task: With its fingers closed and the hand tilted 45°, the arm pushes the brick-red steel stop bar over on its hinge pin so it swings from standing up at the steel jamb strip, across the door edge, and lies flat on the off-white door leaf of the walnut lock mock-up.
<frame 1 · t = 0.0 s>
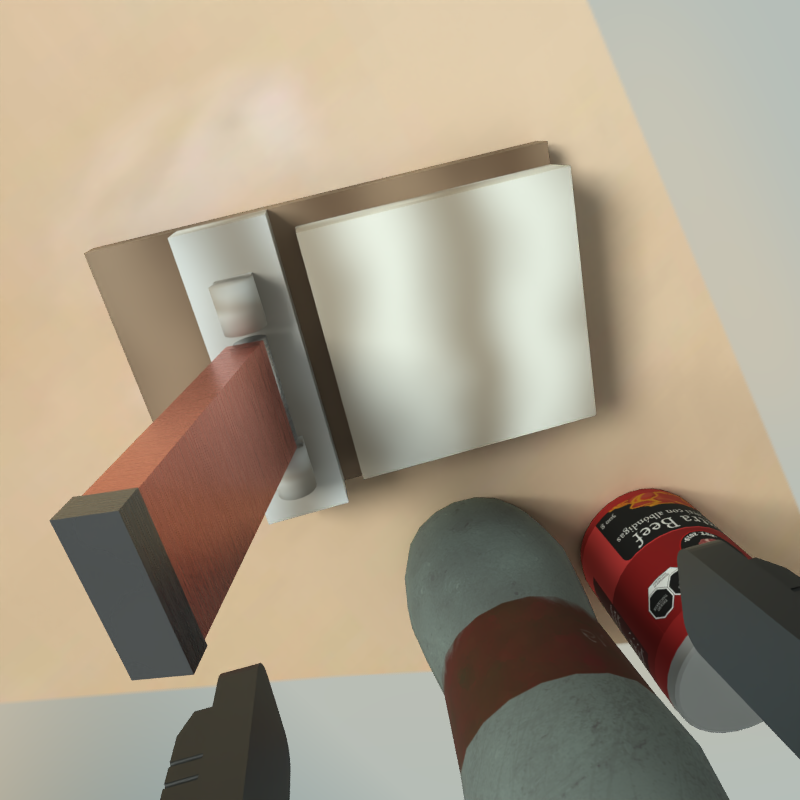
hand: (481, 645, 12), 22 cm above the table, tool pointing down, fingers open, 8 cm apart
bottle: (472, 552, 39), on the table
canned food: (632, 538, 41), on the table
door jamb: (268, 357, 32), on the table
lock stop: (218, 464, 22), point 11 cm above the table, hinge at -15.0°
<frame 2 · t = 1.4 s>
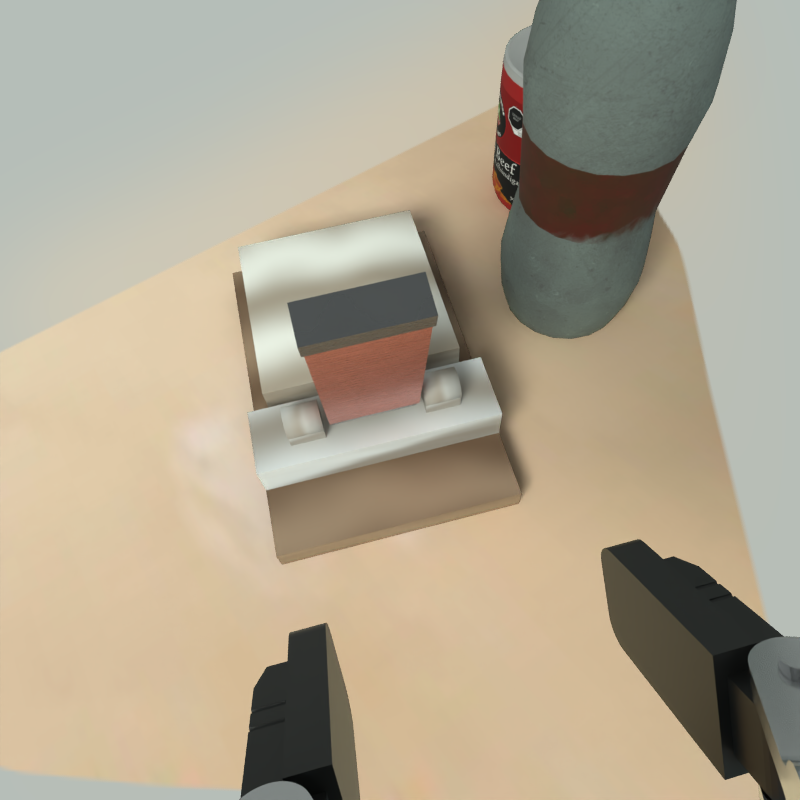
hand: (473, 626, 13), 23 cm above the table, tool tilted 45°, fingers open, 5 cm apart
bottle: (560, 294, 46), on the table
canned food: (542, 190, 51), on the table
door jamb: (378, 442, 40), on the table
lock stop: (368, 368, 30), point 11 cm above the table, hinge at -15.0°
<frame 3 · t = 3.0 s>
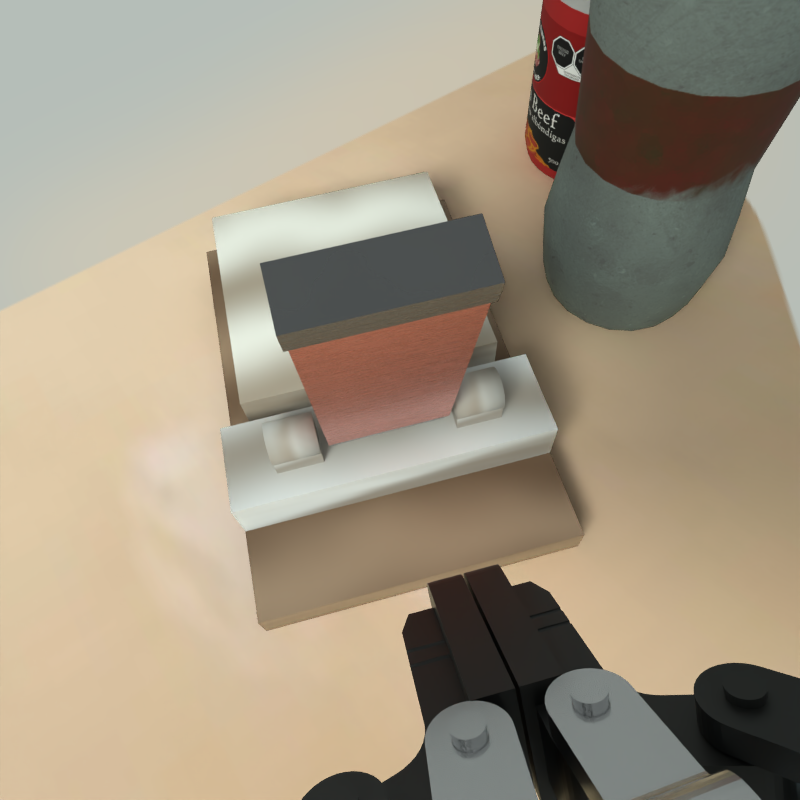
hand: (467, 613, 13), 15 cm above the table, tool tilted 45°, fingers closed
bottle: (615, 275, 37), on the table
canned food: (584, 152, 42), on the table
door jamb: (391, 465, 31), on the table
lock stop: (384, 368, 21), point 11 cm above the table, hinge at -15.0°
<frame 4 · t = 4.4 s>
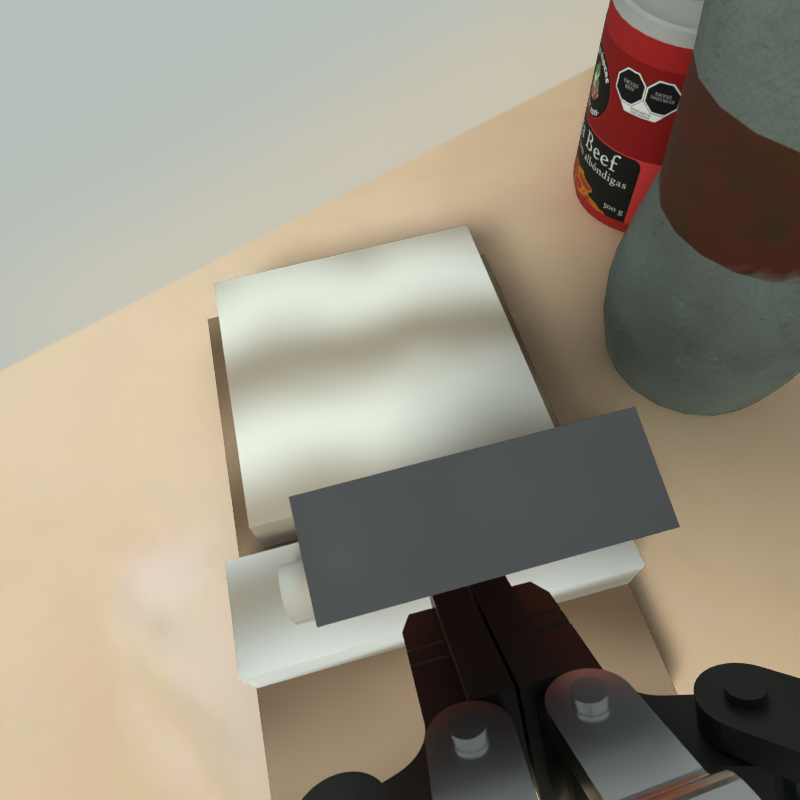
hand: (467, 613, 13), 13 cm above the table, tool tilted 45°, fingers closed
bottle: (687, 345, 31), on the table
canned food: (641, 193, 36), on the table
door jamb: (432, 590, 26), on the table
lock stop: (445, 541, 16), point 11 cm above the table, hinge at -14.9°, touching gripper
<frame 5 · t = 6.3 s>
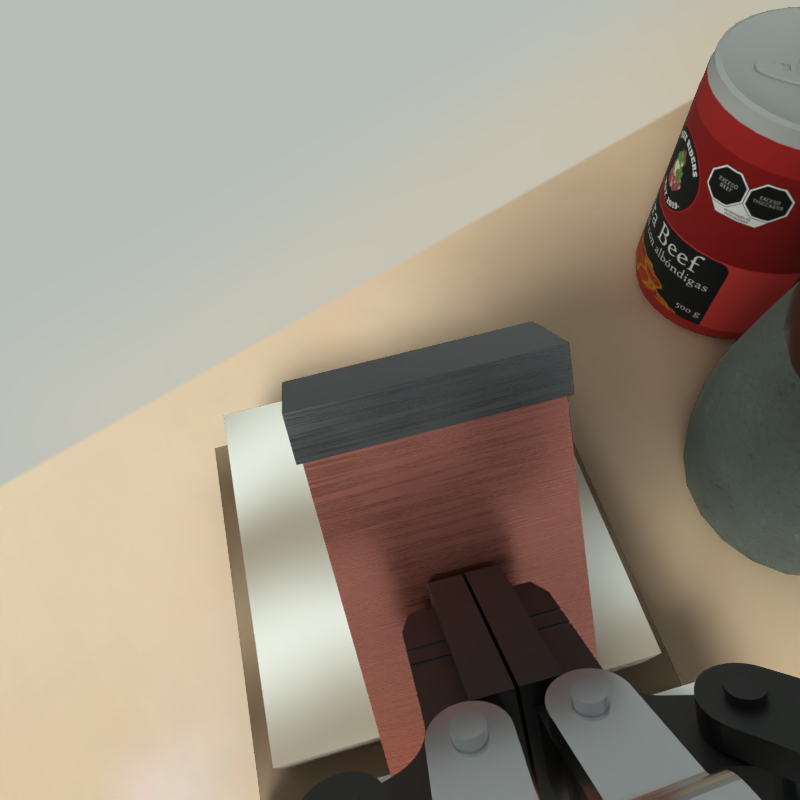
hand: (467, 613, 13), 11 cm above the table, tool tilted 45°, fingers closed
bottle: (781, 480, 26), on the table
canned food: (713, 282, 32), on the table
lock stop: (474, 645, 14), point 10 cm above the table, hinge at 39.9°, touching gripper
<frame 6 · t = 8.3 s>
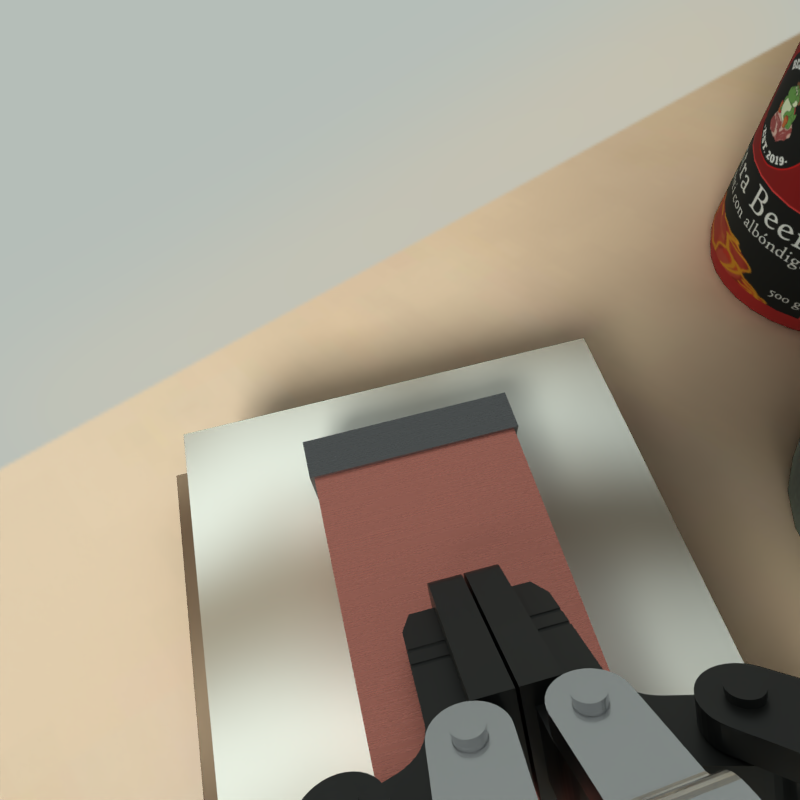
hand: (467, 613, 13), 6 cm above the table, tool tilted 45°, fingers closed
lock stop: (488, 711, 13), point 5 cm above the table, hinge at 90.8°, touching gripper
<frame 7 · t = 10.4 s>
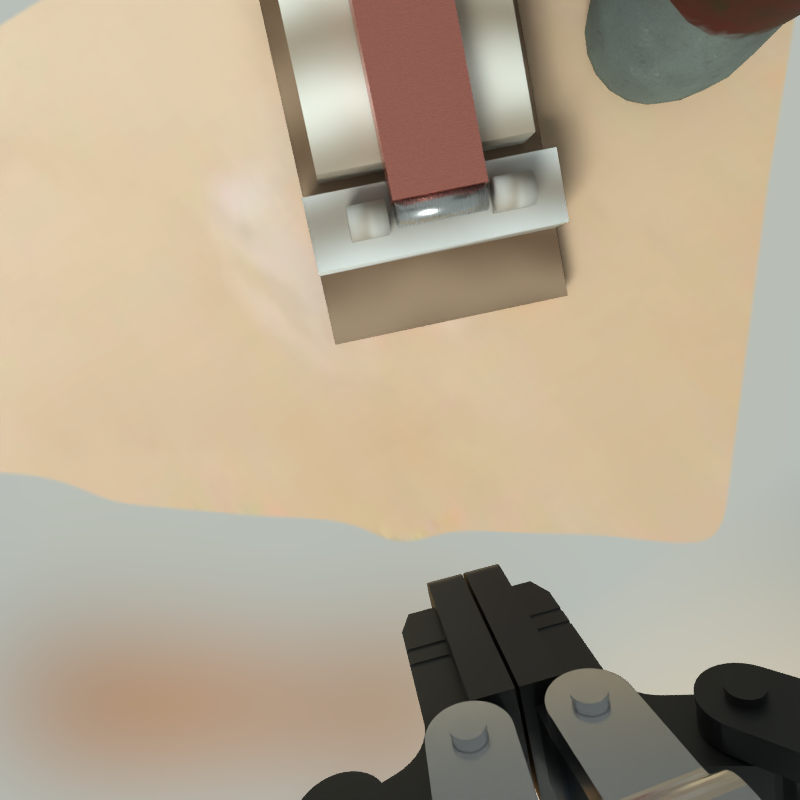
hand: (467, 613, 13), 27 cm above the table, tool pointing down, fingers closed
bottle: (647, 35, 39), on the table
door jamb: (429, 220, 39), on the table
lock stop: (417, 86, 33), point 5 cm above the table, hinge at 90.8°
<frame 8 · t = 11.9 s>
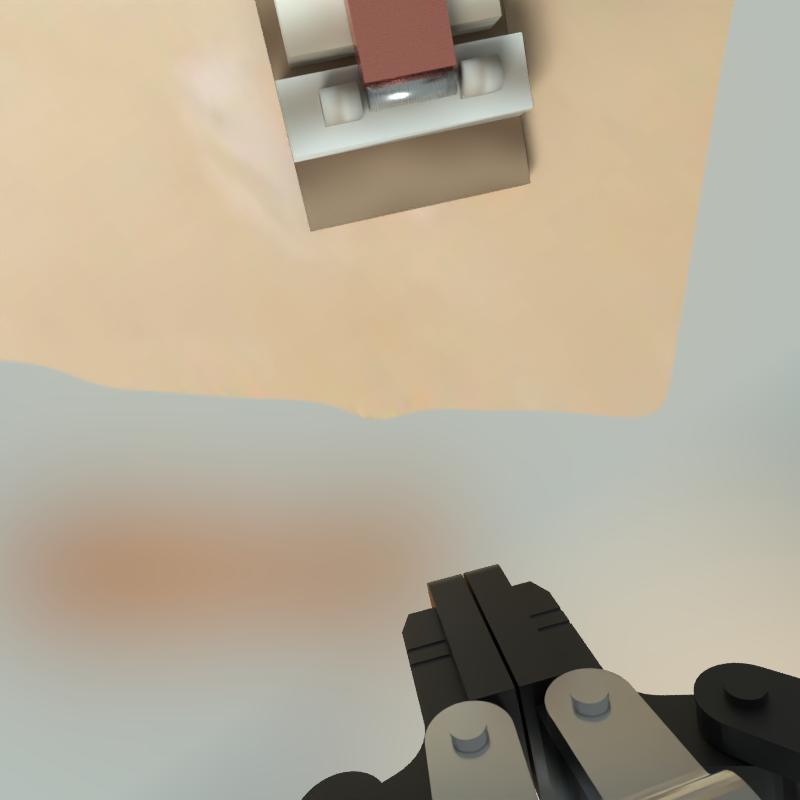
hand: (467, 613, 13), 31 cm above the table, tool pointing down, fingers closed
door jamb: (398, 108, 40), on the table
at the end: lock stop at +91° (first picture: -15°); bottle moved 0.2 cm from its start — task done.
